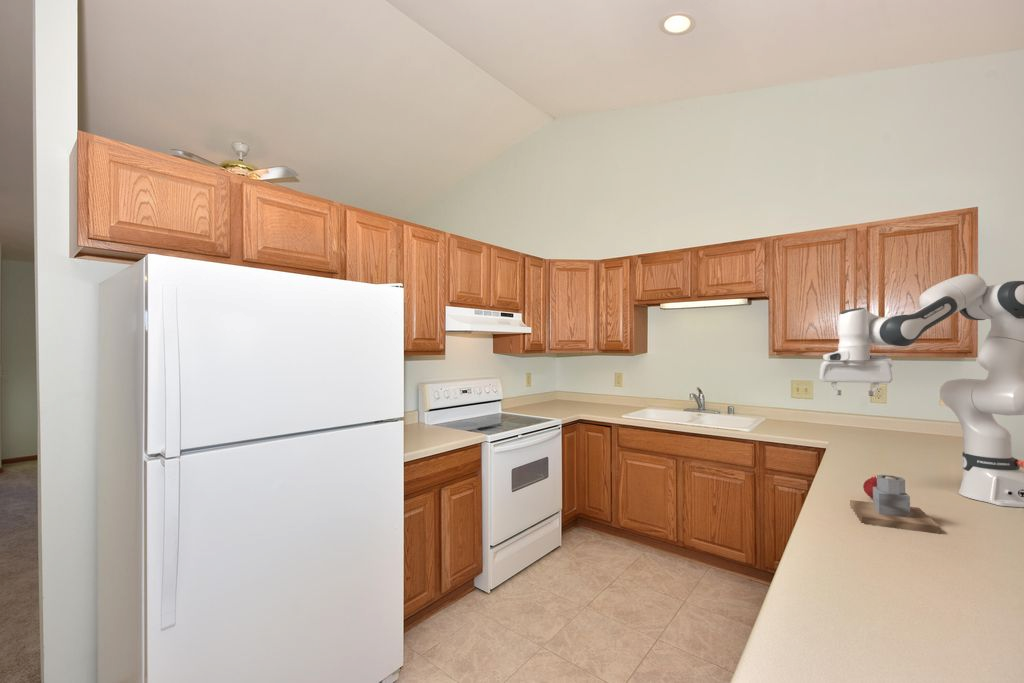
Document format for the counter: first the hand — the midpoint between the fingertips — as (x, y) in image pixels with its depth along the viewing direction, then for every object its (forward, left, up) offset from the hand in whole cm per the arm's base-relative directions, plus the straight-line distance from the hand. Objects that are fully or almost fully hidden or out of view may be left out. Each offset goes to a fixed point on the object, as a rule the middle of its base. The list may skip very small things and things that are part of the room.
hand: (854, 395), depth 160 cm
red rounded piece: (-4, +5, -34) cm, 34 cm away
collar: (-4, +24, -26) cm, 35 cm away
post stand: (-4, +24, -34) cm, 42 cm away
